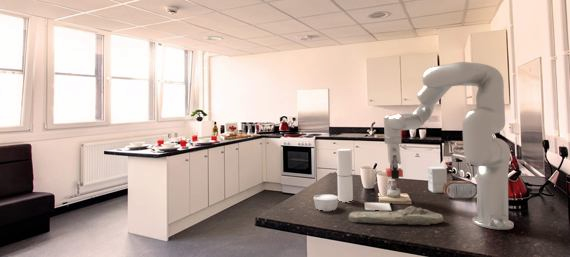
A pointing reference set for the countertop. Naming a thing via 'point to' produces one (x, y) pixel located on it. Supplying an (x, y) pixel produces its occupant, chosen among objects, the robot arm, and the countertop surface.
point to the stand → (395, 196)
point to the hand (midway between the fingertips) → (394, 177)
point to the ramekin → (326, 202)
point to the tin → (460, 189)
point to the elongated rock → (398, 217)
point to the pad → (378, 206)
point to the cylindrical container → (344, 175)
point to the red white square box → (388, 172)
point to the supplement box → (437, 179)
